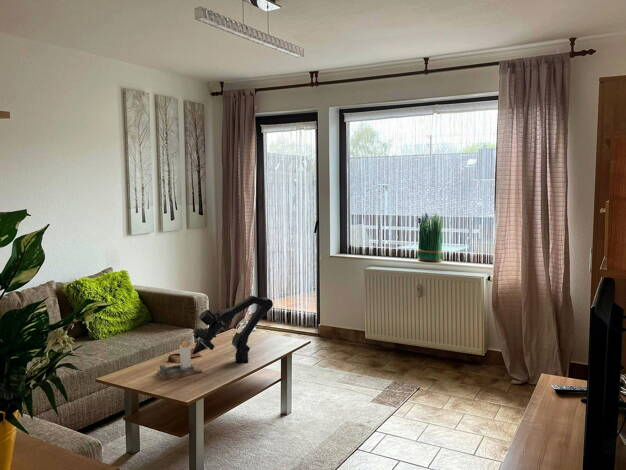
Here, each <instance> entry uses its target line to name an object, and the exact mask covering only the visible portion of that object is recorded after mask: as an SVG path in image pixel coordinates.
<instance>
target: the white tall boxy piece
mask: <svg viewBox="0 0 626 470" xmlns="http://www.w3.org/2000/svg"><path fill="white" fill-rule="evenodd" d="M190 350H191V346H190V344H189V342H188V341H182V342H181V343H180V345H179V353H180V363H179V365H180V368H181V369H183V368H188V367H191V364H192V361H191V360H192V359H191V356H190Z"/></svg>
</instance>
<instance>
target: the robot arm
mask: <svg viewBox="0 0 626 470" xmlns="http://www.w3.org/2000/svg"><path fill="white" fill-rule="evenodd" d="M252 305H256V309H255V311H254V313H253V314H252V316H251V317H250V319H249V320H248V322H247V323H246V324H245V326H244V327H243V329H242V330H241V331H240V332H235V334H234V336H233V337H232V339H231V344H232V346H233V347H234V349H235V350H236V351H235V362H236V364H244V363H245V364H246V363H247V364H248V363H249V352H250V350H251V348H250V347H249V346H248V344H247V343H248V342H249V336H250V335H251V334H252V332H253V330H254V329H255V328H256V326H257V325H258V323H259V322H260V320H261V319H262V318H263V317H264V315H266V314H267V313H268V312H269V311H270V310H271V309H272V308H273V306H274V303H273V301H272V300H271V299H270V298H268V297H265V296H264V297H258V296H255V295H249V296H248V297H246V298H245V299H244V300H242V301H240V302H238V303H236V304H235V305H233V306H232V307H229V308H224V309H222V310H220V311H219V312H216V313H212V311H211V310H210V309H209V308H207V309H206V310H204V311H202V312H201V313H200V315H199V316H198V320H200V322H202V323H203V324H204V325H206V326H208V327H205V328H201V327H200V328H199V327H196V326H194V328H193V330H192V333H193V334H192V336H193V337H194V338H195V346H194V347H193V348H194V350H193V352H192V354H193V355H194V354H196V353H201V352H202V351H205V350H207V349H209V350H210V351H213V350H214V349H215V344H214V343H212V342H211V341H213V339H214V338H217V334H218V333H219V332H220V331H221V330H222V329H223V330H226V329H227V328H226V324H228V323H229V322H230V321H232V320H233V319H234V318H235V317H236V315H237V314H240V313H241V312H243V311H245V310H246V309H248V308H250V307H252Z"/></svg>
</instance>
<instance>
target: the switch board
mask: <svg viewBox="0 0 626 470" xmlns="http://www.w3.org/2000/svg"><path fill="white" fill-rule="evenodd" d="M202 373H203V369H202V368H201V367H200V366H199V365H197V364H196V363H191V367H188V368H183V369H181V368H180V364H175V365H171V366H170V365H169V366H166V365H165V364H161V365H159V369H158V370H157V374H158V375H159V376H160V377H161V379H163V380H164V381H165V380H171V379H175V378H181V377H187V376H191V375H197V374H202Z"/></svg>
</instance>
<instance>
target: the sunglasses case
mask: <svg viewBox="0 0 626 470" xmlns="http://www.w3.org/2000/svg"><path fill="white" fill-rule="evenodd" d="M194 348H195V347H193V348H190V356H191V360H194V359H197V358H201V357H202V355H201V354H200V352H198V353H196V354H194V355H193V354H192V352H193V350H194ZM167 360H168V362H170V363H174V364H176V365H179V364H180V352H177V353H172V354H169V356H168V358H167Z"/></svg>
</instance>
